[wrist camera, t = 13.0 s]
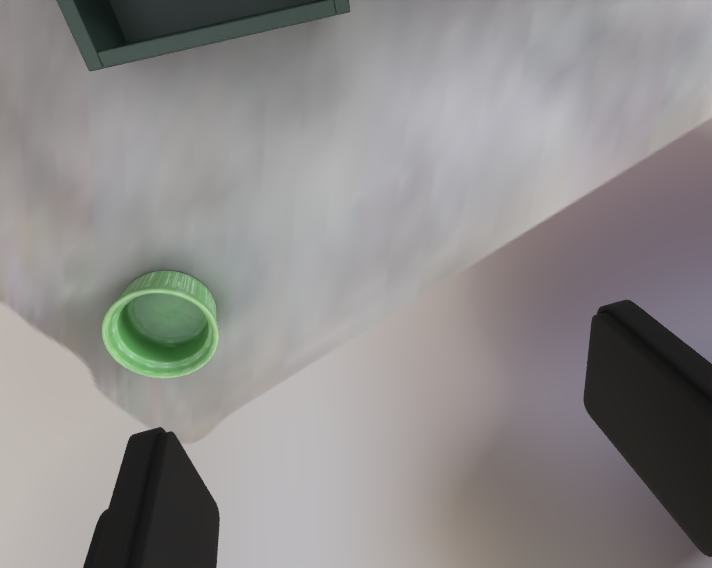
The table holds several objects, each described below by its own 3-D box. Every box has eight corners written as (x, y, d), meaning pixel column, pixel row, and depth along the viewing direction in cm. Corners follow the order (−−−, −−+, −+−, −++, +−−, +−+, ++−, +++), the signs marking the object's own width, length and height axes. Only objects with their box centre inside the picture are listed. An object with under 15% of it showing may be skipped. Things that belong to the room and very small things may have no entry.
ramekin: (186, 246, 39) (179, 271, 36) (240, 323, 44) (238, 352, 40) (92, 290, 40) (75, 319, 36) (155, 361, 45) (146, 393, 41)
